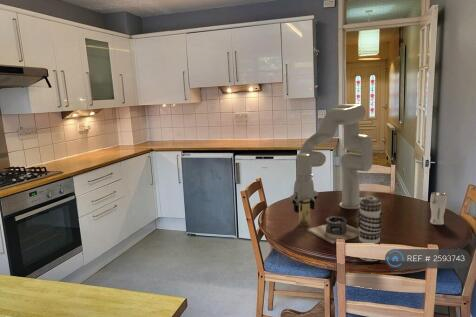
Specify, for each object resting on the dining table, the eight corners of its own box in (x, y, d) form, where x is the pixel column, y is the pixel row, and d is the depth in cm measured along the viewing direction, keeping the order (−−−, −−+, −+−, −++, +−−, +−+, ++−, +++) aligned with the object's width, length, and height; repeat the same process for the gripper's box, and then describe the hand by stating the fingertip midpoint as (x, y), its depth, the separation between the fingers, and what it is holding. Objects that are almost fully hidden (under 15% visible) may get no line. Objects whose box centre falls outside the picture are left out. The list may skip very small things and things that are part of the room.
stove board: (339, 222, 186) (339, 221, 185) (365, 234, 170) (365, 232, 170) (307, 230, 177) (307, 229, 177) (332, 243, 161) (332, 241, 161)
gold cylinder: (305, 221, 189) (305, 196, 187) (312, 224, 184) (312, 198, 182) (296, 223, 187) (296, 197, 184) (303, 227, 182) (303, 200, 179)
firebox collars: (337, 225, 179) (337, 215, 178) (350, 231, 171) (350, 220, 170) (322, 229, 175) (322, 218, 174) (335, 236, 167) (335, 224, 166)
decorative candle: (364, 249, 154) (365, 193, 150) (385, 256, 147) (387, 197, 143) (352, 256, 148) (353, 198, 144) (373, 263, 141) (375, 203, 137)
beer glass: (443, 221, 182) (445, 192, 179) (446, 226, 176) (448, 196, 173) (428, 220, 185) (429, 191, 182) (430, 224, 178) (432, 195, 175)
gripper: (313, 174, 188) (313, 205, 191) (285, 178, 181) (286, 211, 184) (322, 176, 182) (322, 209, 185) (294, 181, 174) (294, 215, 177)
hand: (304, 210), depth 184 cm, fingers open, 9 cm apart
